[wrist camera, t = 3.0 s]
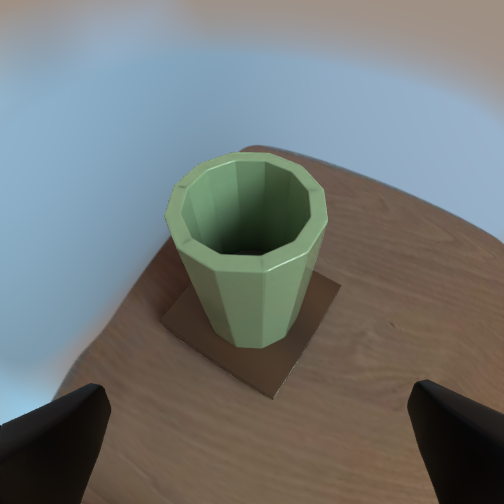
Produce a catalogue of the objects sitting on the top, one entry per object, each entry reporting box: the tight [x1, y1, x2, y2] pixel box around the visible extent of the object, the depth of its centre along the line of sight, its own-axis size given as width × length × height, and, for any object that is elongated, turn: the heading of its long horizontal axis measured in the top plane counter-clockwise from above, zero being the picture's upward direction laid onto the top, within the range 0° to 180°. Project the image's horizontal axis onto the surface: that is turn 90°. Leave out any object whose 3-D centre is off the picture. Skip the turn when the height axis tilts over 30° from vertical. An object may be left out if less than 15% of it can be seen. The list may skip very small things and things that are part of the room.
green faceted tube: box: [164, 152, 328, 348], centre depth 16 cm, size 7×7×11 cm
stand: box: [160, 249, 341, 400], centre depth 19 cm, size 10×10×6 cm
